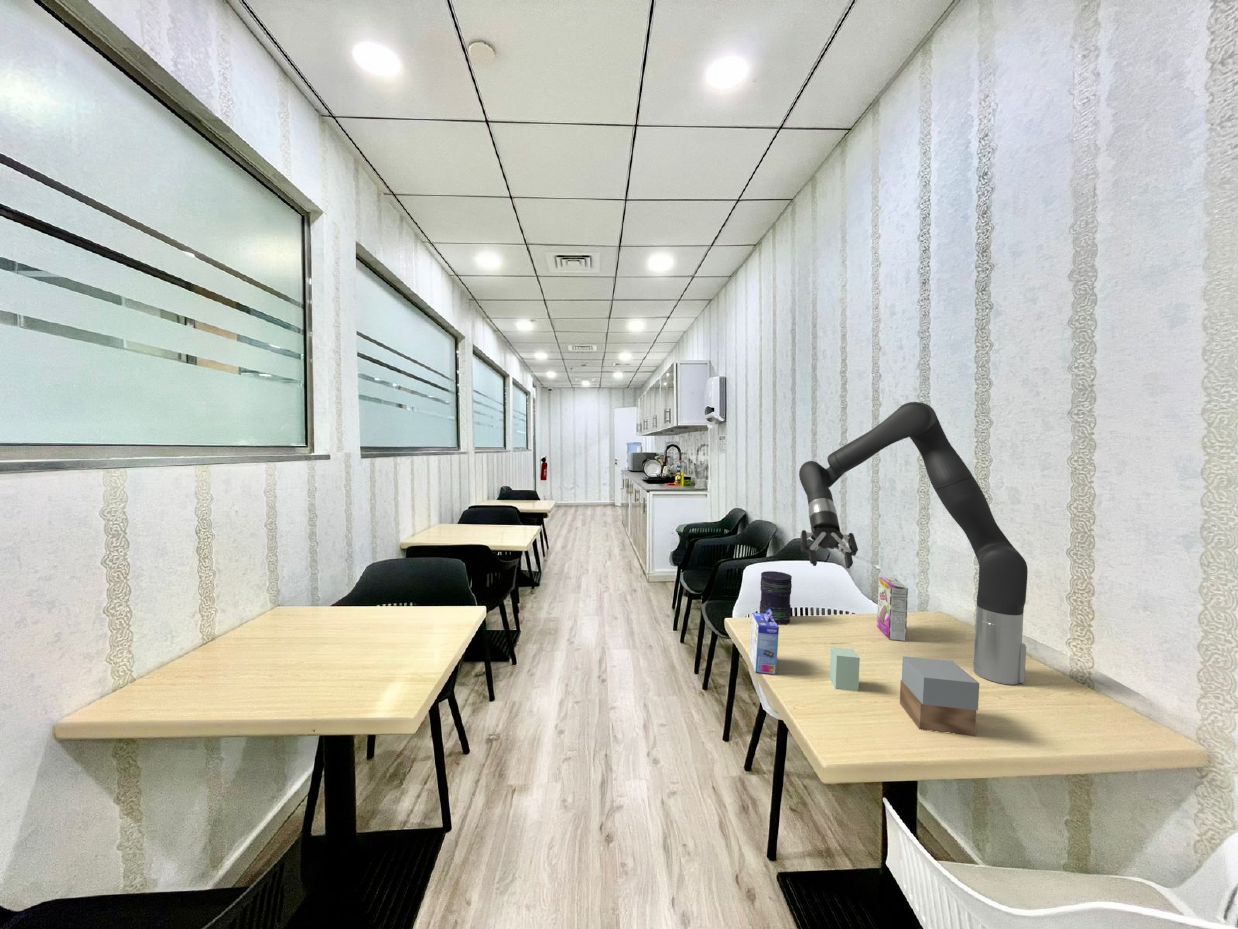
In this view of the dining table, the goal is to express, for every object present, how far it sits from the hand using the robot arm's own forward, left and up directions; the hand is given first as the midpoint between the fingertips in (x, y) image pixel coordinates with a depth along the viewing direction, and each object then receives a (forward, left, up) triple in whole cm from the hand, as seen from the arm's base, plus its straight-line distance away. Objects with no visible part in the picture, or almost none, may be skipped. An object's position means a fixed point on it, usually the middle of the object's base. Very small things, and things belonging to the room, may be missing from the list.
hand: (832, 565), depth 125 cm
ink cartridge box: (+18, +8, -26) cm, 32 cm away
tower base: (-15, +25, -26) cm, 39 cm away
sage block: (0, +14, -25) cm, 29 cm away
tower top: (-15, +25, -20) cm, 36 cm away
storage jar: (+10, -28, -26) cm, 39 cm away
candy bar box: (-24, -24, -26) cm, 42 cm away
